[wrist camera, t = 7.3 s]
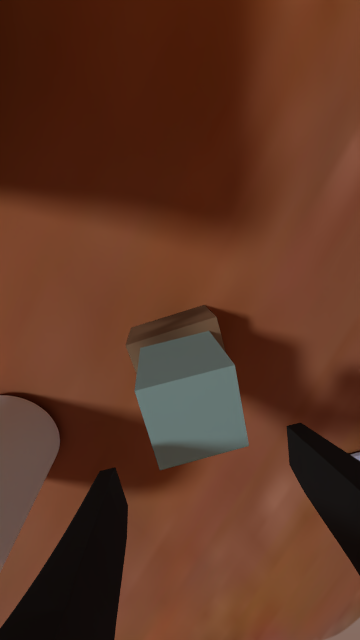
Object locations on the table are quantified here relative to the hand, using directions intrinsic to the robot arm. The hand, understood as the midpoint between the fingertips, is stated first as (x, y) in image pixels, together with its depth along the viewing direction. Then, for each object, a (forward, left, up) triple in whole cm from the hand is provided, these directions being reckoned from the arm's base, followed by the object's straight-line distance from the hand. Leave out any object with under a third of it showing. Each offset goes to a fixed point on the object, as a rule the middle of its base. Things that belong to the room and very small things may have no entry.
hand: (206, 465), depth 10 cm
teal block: (0, -1, -7) cm, 7 cm away
